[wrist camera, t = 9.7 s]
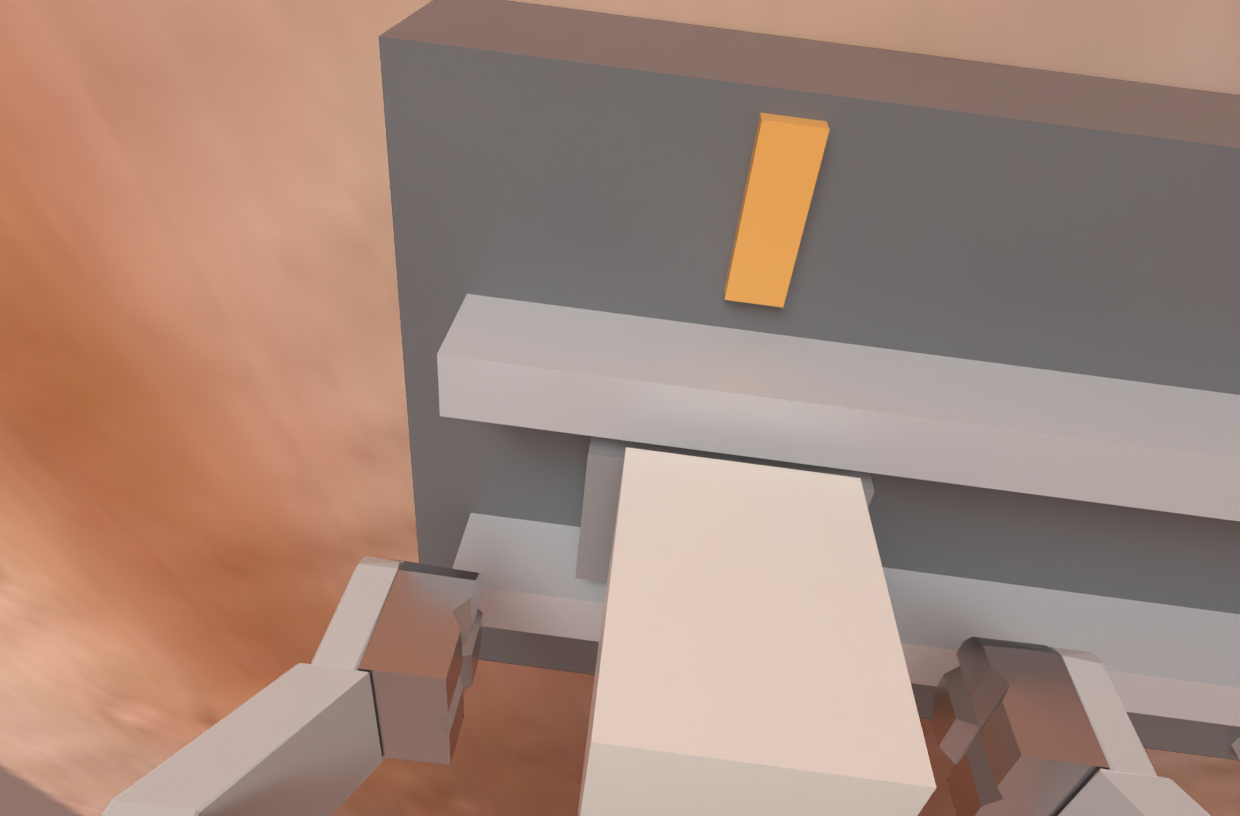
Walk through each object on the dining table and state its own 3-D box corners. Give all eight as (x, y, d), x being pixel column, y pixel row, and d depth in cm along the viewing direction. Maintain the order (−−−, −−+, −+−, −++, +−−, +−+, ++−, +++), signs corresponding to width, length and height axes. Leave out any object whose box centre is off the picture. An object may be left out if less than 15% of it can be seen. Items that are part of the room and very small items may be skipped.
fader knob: (874, 399, 11) (994, 795, 7) (806, 581, 14) (860, 965, 9) (601, 363, 11) (534, 733, 7) (581, 551, 14) (521, 920, 9)
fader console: (1786, 166, 12) (2294, 326, 8) (1288, 656, 19) (1431, 859, 15) (444, -8, 12) (326, 70, 8) (460, 547, 19) (403, 722, 15)
